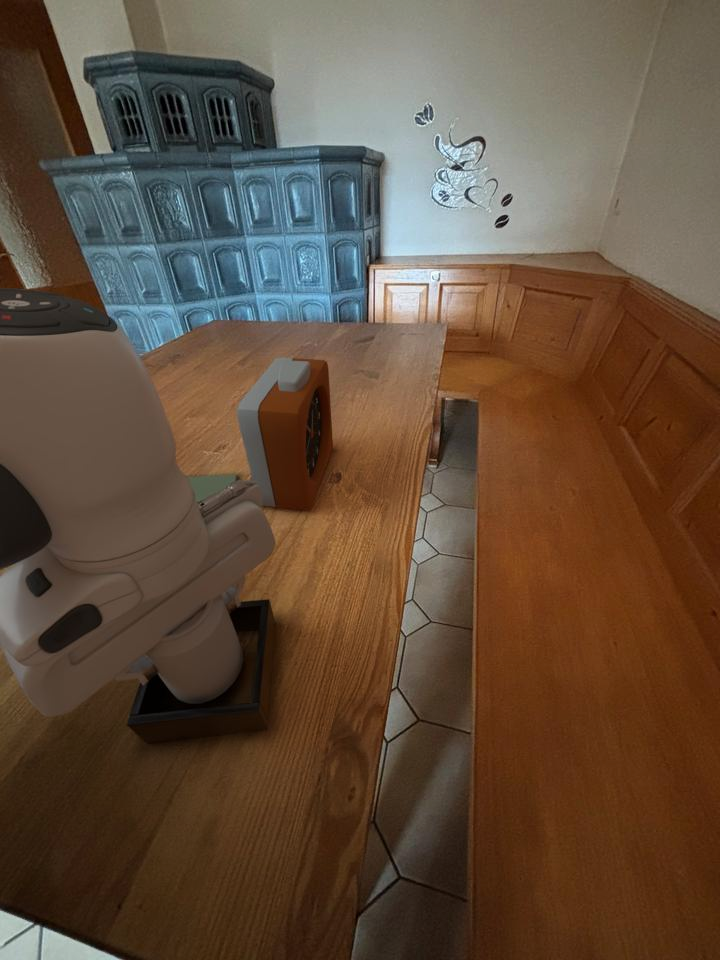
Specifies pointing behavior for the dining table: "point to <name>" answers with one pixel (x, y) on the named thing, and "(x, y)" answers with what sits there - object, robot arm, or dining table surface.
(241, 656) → the can
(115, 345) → the robot arm
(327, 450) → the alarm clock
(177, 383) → the dining table surface
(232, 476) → the mat
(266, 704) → the frame
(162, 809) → the dining table surface
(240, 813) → the dining table surface
